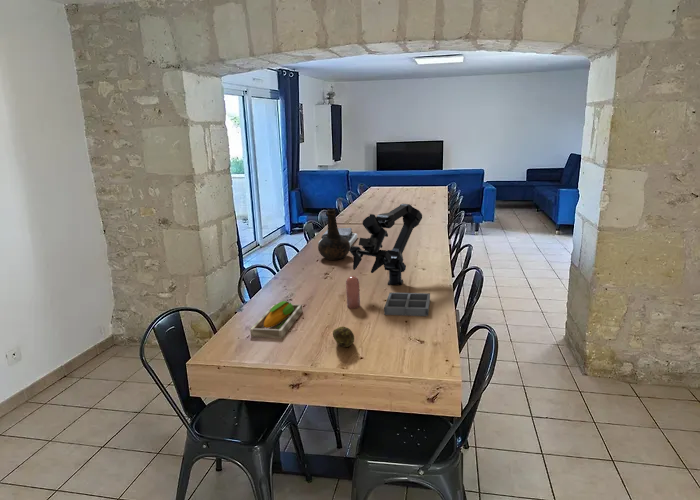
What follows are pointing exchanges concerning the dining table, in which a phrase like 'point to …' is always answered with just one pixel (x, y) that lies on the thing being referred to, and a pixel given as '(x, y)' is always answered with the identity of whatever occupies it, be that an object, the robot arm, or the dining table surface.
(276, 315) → the corn
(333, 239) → the brown vase
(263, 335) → the frame
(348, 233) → the towel
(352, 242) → the towel frame
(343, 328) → the potato
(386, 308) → the gray compartment tray
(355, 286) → the pink dome-topped cylinder
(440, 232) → the dining table surface
